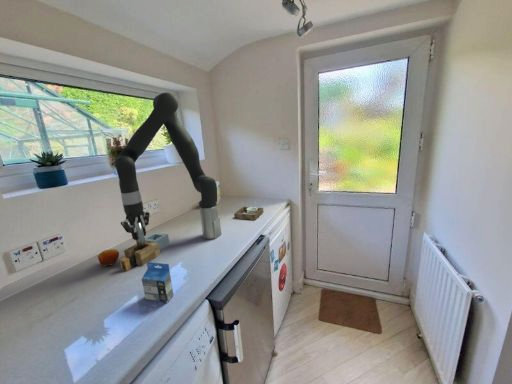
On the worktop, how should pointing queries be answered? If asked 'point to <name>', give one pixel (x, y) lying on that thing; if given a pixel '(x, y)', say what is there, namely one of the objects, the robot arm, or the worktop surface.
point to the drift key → (128, 262)
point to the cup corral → (248, 216)
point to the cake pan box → (218, 192)
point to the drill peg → (140, 237)
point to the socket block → (143, 253)
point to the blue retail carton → (157, 282)
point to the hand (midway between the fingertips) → (140, 237)
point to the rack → (158, 239)
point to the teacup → (251, 210)
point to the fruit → (108, 257)
